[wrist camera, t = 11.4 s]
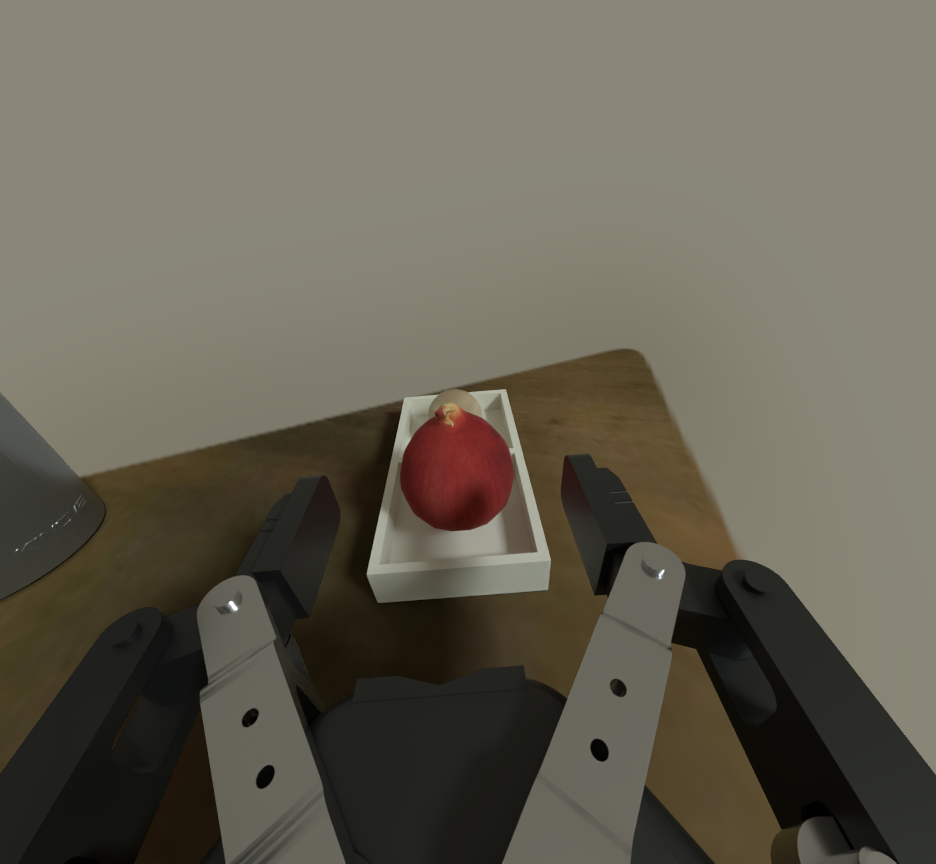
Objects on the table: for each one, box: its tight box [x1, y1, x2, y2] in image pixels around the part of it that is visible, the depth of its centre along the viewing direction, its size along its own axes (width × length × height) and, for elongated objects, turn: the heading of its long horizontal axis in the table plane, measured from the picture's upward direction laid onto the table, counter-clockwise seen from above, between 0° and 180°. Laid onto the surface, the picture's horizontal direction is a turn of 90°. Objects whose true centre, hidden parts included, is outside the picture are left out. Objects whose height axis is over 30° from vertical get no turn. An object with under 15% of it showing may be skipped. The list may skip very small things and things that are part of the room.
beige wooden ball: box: [428, 389, 482, 420], centre depth 26 cm, size 4×4×4 cm
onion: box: [400, 402, 514, 531], centre depth 18 cm, size 6×6×8 cm
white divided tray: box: [367, 389, 551, 603], centre depth 24 cm, size 8×16×2 cm, turn 3°
